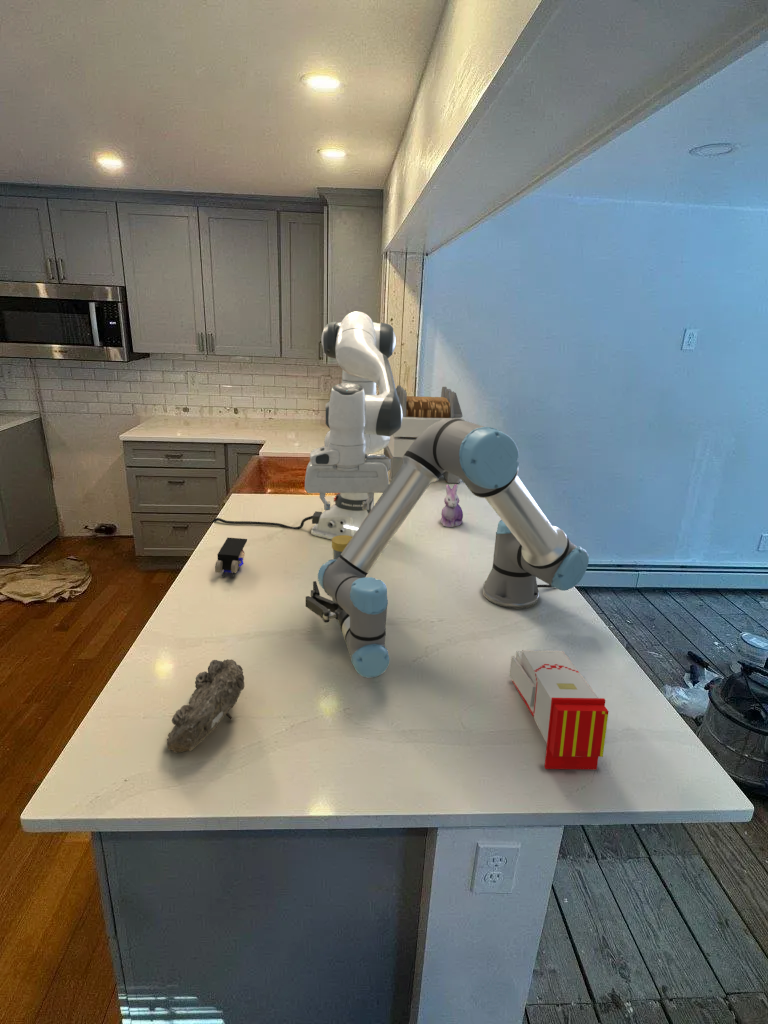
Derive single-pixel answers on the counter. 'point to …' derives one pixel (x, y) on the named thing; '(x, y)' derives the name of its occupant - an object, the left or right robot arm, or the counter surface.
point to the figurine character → (230, 556)
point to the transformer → (420, 424)
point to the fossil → (206, 705)
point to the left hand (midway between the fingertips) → (346, 509)
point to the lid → (340, 542)
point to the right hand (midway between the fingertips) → (340, 583)
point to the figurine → (451, 508)
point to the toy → (561, 708)
